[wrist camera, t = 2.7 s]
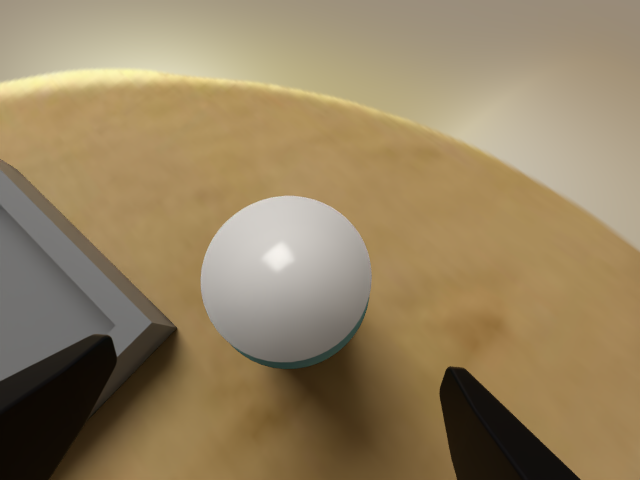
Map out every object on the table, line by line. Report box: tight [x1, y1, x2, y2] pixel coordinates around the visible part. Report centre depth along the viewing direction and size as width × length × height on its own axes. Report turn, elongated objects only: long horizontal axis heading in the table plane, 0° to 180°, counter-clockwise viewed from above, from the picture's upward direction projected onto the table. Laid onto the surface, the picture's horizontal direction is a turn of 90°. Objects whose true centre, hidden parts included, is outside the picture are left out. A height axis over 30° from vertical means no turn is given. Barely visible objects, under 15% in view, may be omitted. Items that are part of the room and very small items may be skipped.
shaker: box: [201, 196, 372, 369], centre depth 14 cm, size 5×5×10 cm
